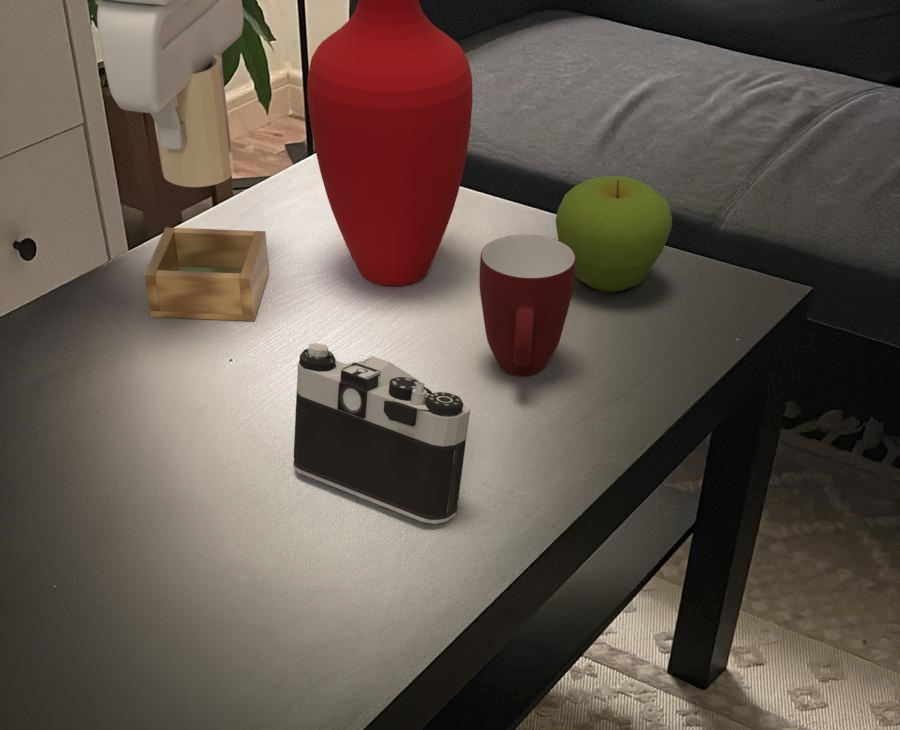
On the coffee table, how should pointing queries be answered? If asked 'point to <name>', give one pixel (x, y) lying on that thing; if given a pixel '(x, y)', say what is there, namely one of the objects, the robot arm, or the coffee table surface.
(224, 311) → the open wooden box
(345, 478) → the camera
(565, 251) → the mug
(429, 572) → the coffee table surface
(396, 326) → the coffee table surface
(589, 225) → the apple
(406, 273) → the vase
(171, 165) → the beige cup
